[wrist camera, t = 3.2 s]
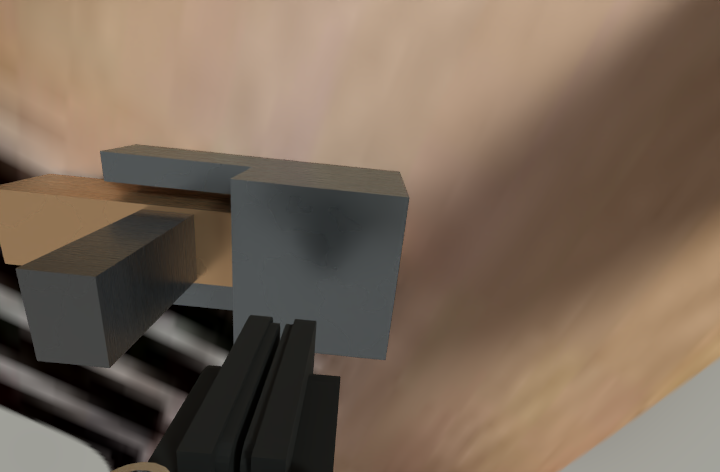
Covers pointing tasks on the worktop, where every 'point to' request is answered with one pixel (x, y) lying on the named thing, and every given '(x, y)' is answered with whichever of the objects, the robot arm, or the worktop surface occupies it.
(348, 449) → the worktop surface
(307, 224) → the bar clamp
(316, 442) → the robot arm
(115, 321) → the sliding bolt with handle
